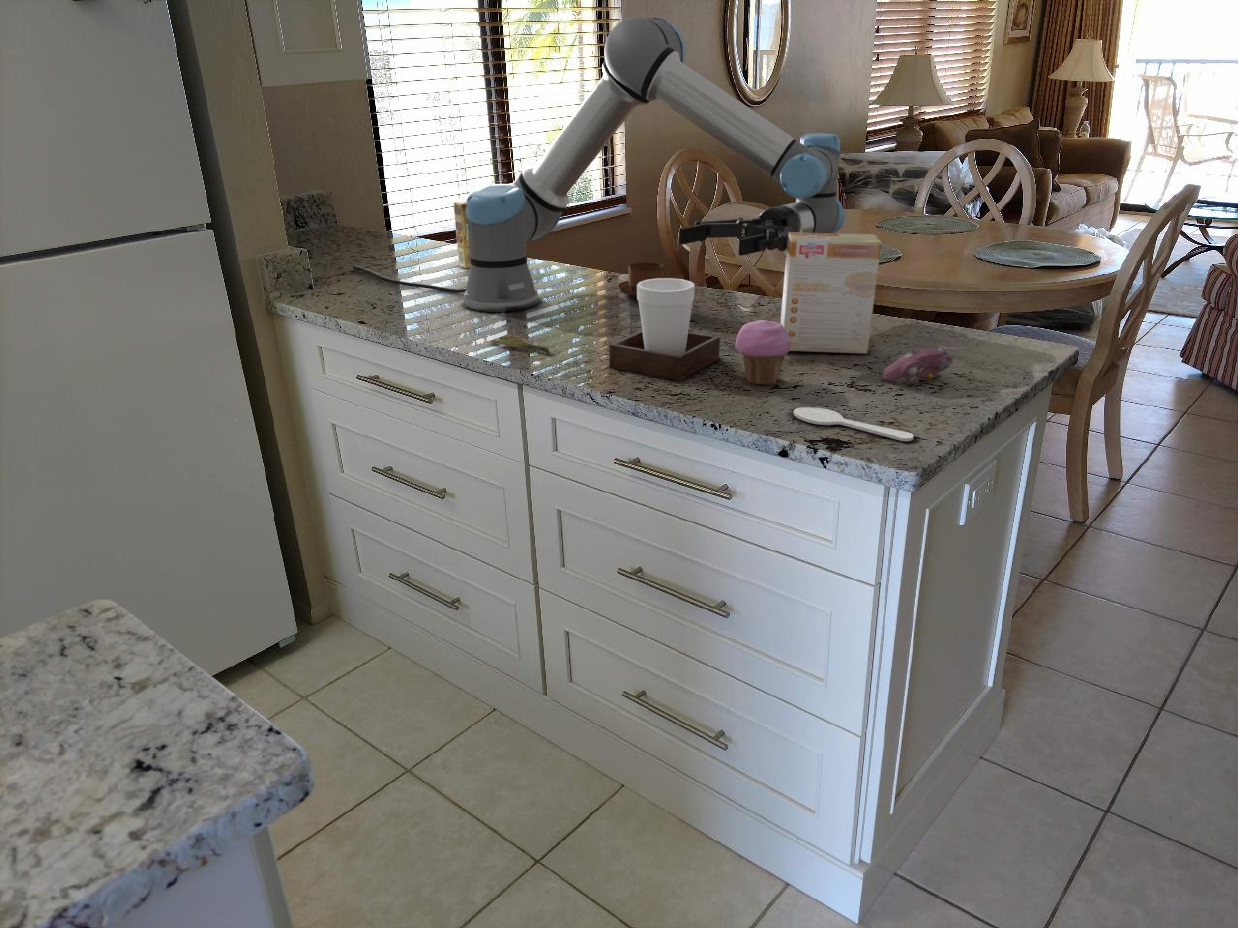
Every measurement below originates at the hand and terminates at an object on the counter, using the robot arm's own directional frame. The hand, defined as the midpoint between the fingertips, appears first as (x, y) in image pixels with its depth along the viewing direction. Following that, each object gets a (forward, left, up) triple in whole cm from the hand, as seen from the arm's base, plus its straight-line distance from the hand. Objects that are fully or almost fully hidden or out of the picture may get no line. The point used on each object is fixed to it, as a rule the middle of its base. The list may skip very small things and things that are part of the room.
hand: (709, 242), depth 166 cm
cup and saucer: (-29, +25, -18) cm, 42 cm away
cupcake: (+17, -14, -18) cm, 29 cm away
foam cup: (-1, -14, -18) cm, 23 cm away
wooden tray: (-1, -14, -18) cm, 23 cm away
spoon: (+37, -25, -18) cm, 48 cm away
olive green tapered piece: (-27, -19, -19) cm, 38 cm away
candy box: (-80, +29, -18) cm, 87 cm away
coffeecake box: (+19, +8, -18) cm, 27 cm away
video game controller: (+38, -1, -18) cm, 43 cm away
